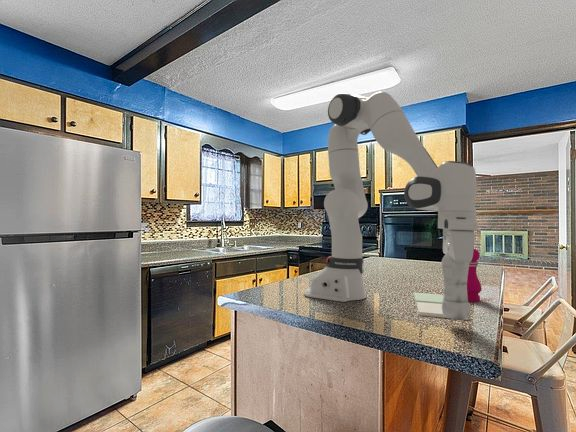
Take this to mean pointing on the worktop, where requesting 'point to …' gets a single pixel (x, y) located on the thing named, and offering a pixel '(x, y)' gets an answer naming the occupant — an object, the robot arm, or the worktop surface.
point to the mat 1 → (428, 298)
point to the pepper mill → (473, 279)
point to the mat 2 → (430, 309)
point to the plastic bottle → (454, 290)
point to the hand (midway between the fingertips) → (455, 274)
